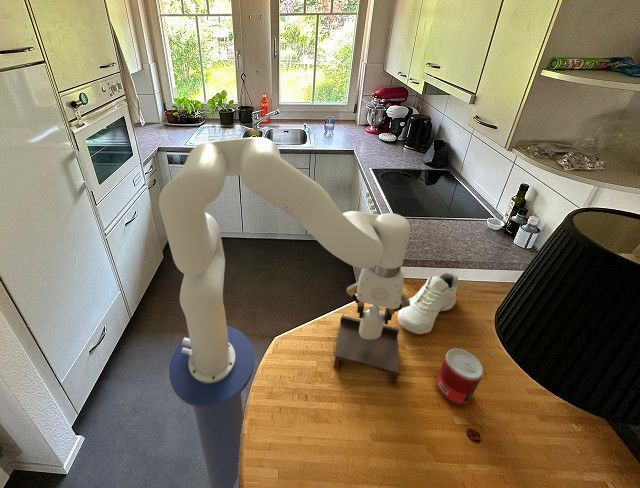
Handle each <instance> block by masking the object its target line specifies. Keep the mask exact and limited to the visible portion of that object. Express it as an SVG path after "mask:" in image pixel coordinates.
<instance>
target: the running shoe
mask: <svg viewBox="0 0 640 488" xmlns="http://www.w3.org/2000/svg"><path fill="white" fill-rule="evenodd" d="M458 284H459V277H458V276H457V275H456V274H453V273H451V272H443V273H442V274H441V275H437V276H429V277H428V278H427V280H426V282H425V284H423V285H422V287H421V288H420V289H419V290H418V291H417V293H416V294H414V295H413V296H411V298H408V299H409V300H410V306H408V307H405V308H402V309H401V310H398V311H397V312H398V313H397V322H398V324H399V325H400V326H401V327H402V328H403V329H404V330H406V331H407V332H410V333H413V334H416V335H423V334H428V333H430V332H431V331H432V330H433V328H434V325H435V321H436V319H437V318H438V317H437V316H438V315H439V313H440V312H445V311H446V312H447V311H450V310H451V309H452V308H453V307H455V305H456V302H457V291H458Z"/></svg>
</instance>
